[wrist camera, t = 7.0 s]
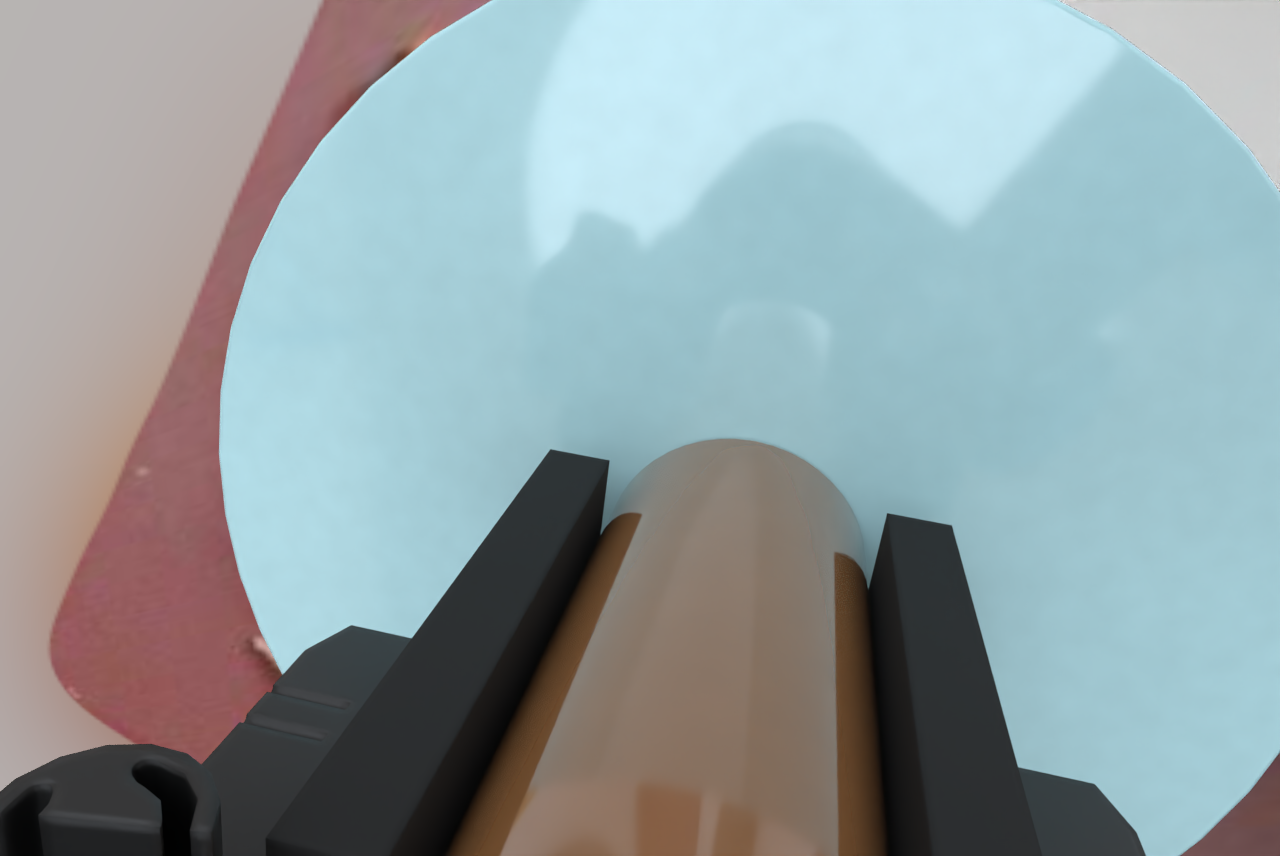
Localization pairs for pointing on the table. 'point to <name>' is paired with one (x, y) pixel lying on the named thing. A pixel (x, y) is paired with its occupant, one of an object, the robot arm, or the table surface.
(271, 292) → the lid
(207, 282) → the table surface
